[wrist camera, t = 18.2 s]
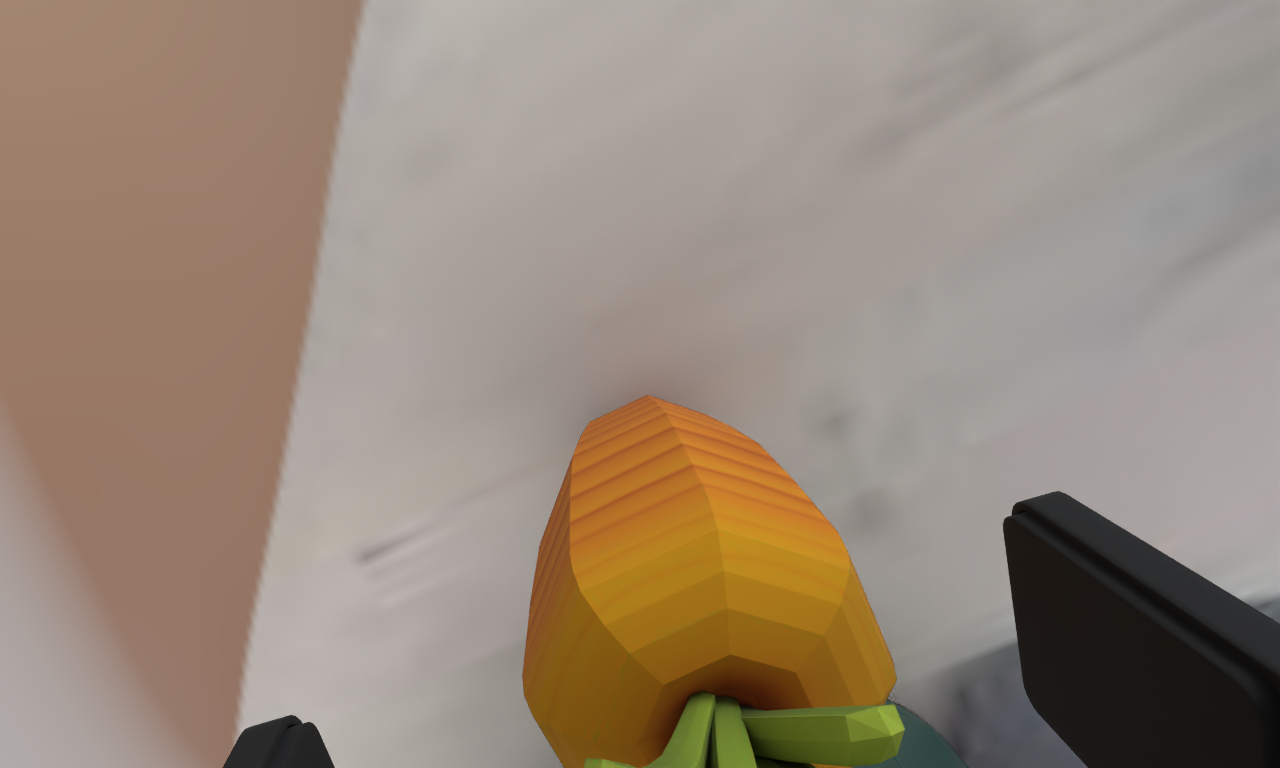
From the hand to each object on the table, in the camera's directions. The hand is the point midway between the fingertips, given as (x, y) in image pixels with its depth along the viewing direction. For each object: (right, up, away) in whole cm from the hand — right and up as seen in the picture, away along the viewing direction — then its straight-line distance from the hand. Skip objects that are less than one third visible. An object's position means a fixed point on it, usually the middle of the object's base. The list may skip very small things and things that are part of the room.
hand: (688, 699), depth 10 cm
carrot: (-1, +3, +10) cm, 11 cm away
